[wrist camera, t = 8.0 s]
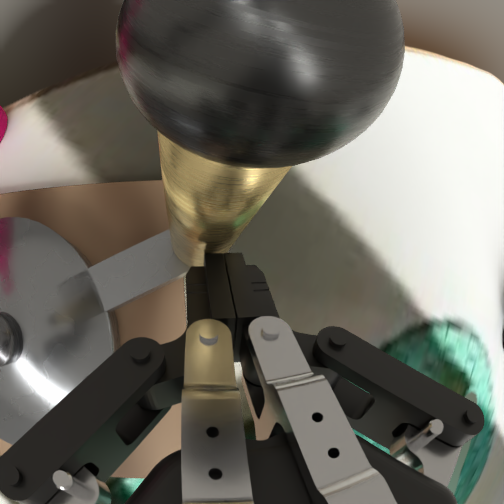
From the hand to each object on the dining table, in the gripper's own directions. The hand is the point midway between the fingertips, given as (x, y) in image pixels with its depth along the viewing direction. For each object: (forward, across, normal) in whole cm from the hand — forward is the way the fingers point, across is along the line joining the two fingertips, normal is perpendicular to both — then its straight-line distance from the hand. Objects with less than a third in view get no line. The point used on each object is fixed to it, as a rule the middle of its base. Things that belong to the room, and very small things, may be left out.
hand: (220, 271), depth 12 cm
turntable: (+2, +10, +5) cm, 11 cm away
